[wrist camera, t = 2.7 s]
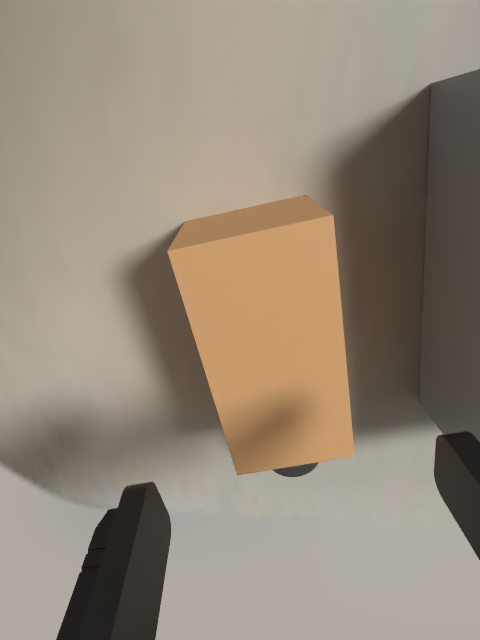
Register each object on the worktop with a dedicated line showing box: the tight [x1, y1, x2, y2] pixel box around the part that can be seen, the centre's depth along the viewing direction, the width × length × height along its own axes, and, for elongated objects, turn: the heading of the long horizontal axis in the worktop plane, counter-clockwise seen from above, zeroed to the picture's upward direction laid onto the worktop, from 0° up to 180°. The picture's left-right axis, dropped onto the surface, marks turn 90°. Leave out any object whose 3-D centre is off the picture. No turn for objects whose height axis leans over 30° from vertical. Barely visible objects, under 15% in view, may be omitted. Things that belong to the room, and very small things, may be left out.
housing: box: [167, 195, 355, 477], centre depth 17 cm, size 13×6×5 cm, turn 12°
